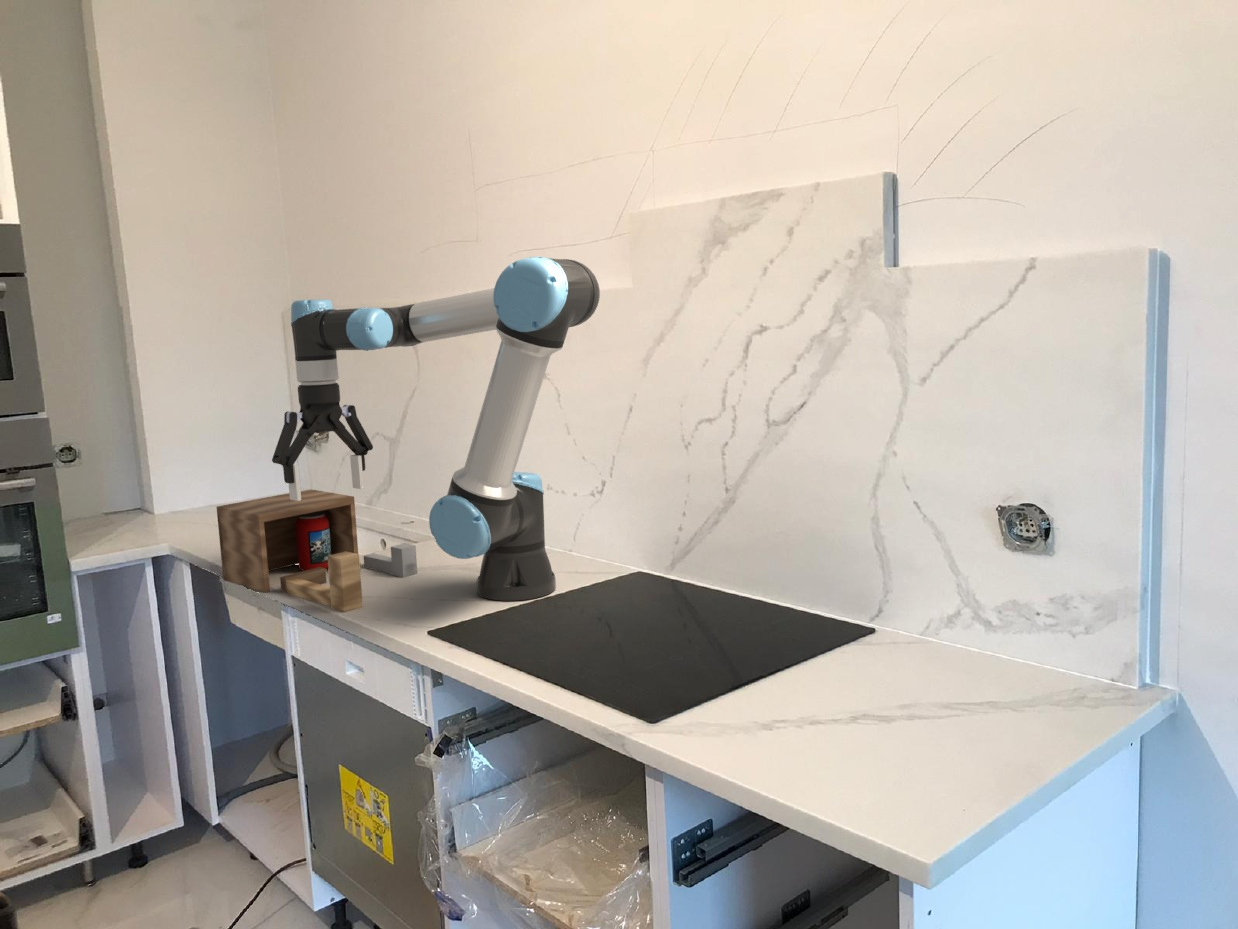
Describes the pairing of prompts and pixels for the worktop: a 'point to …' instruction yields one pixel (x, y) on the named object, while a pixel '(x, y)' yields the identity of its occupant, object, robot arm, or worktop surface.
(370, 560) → the grey hooked tool
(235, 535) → the shelf
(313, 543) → the beverage can
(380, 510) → the worktop surface
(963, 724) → the worktop surface
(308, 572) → the crook tool
